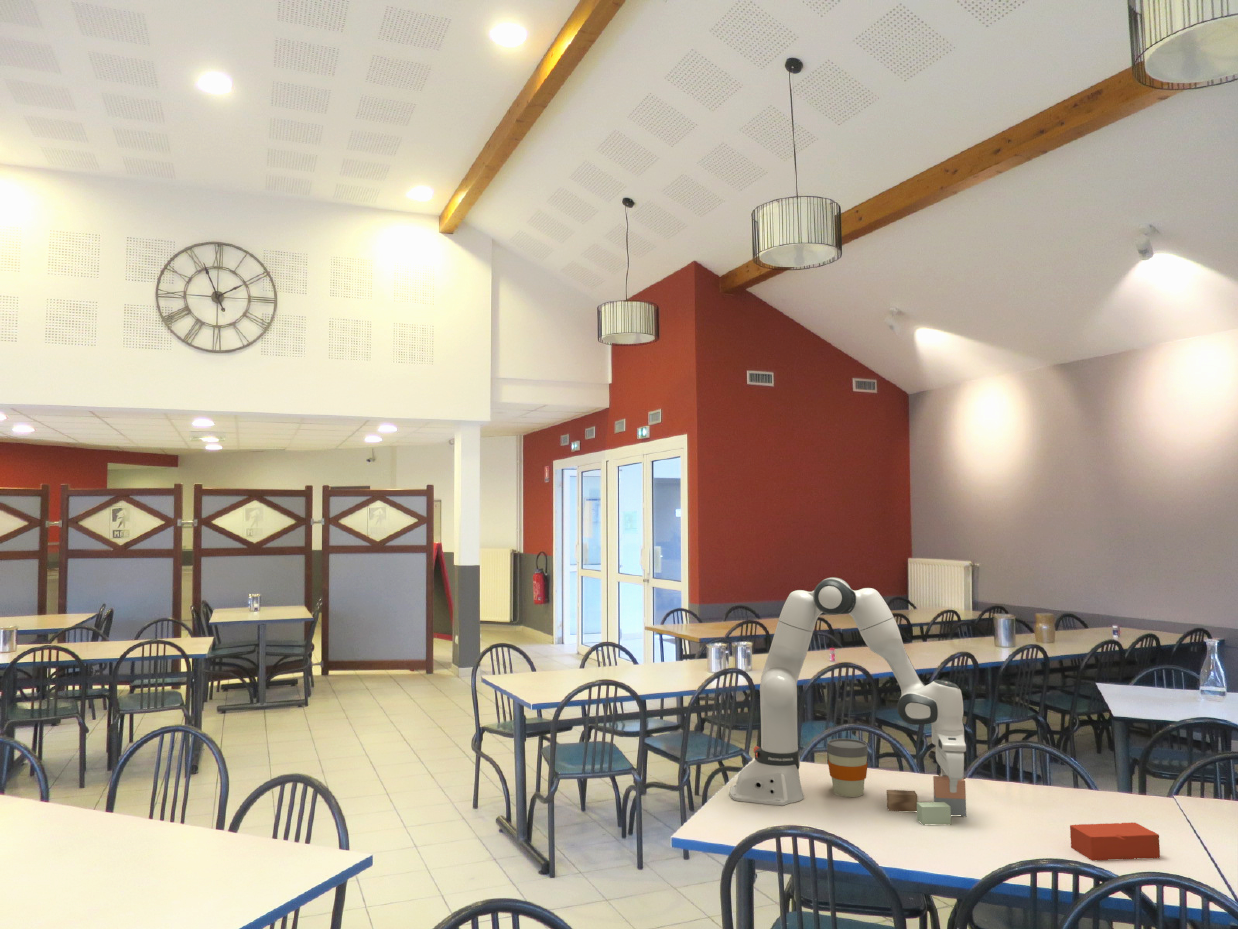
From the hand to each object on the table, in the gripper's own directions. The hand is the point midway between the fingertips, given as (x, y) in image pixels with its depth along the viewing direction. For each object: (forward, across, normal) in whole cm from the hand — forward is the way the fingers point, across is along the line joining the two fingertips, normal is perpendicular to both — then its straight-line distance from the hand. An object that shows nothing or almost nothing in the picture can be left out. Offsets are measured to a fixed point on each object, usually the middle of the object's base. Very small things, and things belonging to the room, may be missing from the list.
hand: (949, 787), depth 248 cm
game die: (+8, -19, +4) cm, 21 cm away
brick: (+8, +24, +35) cm, 43 cm away
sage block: (+8, +8, -6) cm, 13 cm away
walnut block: (+8, -2, -13) cm, 15 cm away
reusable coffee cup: (+8, -16, -27) cm, 32 cm away
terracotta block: (+3, 0, 0) cm, 3 cm away
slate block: (+8, 0, 0) cm, 8 cm away
